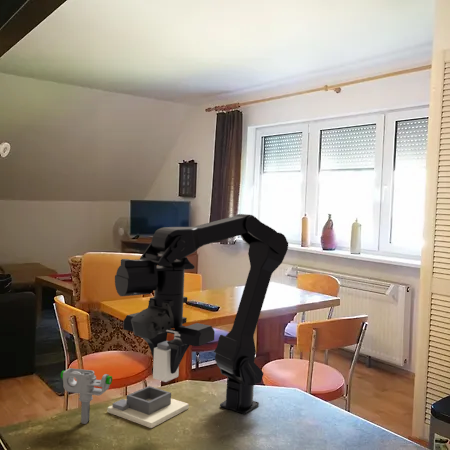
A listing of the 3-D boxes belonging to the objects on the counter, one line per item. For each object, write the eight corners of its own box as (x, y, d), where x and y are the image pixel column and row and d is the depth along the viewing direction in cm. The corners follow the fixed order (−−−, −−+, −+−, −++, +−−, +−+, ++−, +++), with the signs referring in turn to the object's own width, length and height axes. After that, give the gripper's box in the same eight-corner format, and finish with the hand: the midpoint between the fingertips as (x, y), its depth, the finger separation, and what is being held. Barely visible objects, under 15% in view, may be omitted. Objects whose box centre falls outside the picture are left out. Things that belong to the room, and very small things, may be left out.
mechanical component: (105, 428, 98) (107, 377, 97) (57, 421, 100) (58, 371, 99) (112, 422, 101) (114, 372, 100) (65, 415, 103) (66, 367, 102)
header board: (146, 394, 115) (146, 379, 115) (188, 408, 109) (189, 392, 109) (107, 412, 105) (107, 395, 105) (151, 428, 99) (152, 410, 98)
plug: (165, 373, 102) (167, 339, 102) (178, 376, 100) (179, 342, 100) (152, 378, 99) (154, 344, 98) (165, 382, 97) (167, 347, 97)
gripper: (104, 291, 97) (101, 371, 98) (182, 305, 87) (178, 394, 88) (143, 284, 106) (140, 357, 107) (217, 296, 96) (214, 377, 97)
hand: (166, 371), depth 99 cm, fingers closed on plug, 3 cm apart
